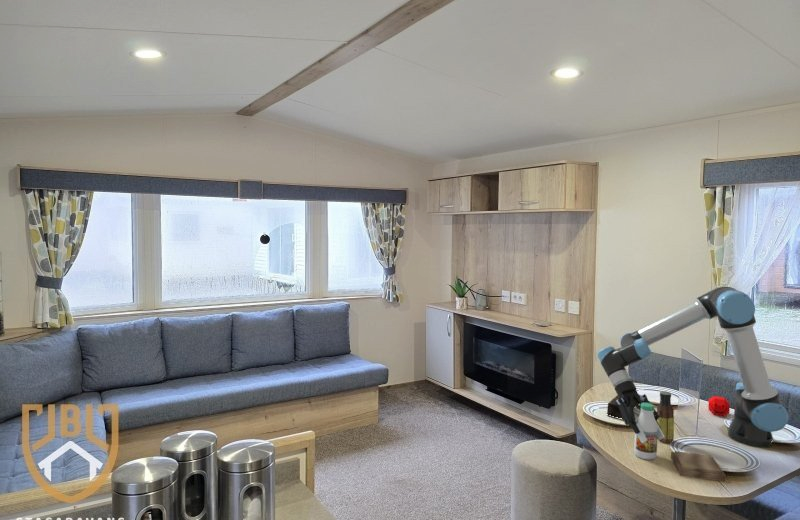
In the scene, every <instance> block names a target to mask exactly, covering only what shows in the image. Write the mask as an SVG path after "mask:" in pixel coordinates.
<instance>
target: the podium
mask: <svg viewBox="0 0 800 520" xmlns="http://www.w3.org/2000/svg"><path fill="white" fill-rule="evenodd" d="M670 459H671V461H672V462H673V464H674V466H675V469H676V470H677V473H678V474H679V476H681V477H689V478H696V479H705V480H713V481H714V480H715V481H721V482H726V477H727V475H726V473H725V472H724V471H723V469H722V468H721V467H720V465H719V464H718V462H717V461H716V460H715V458H714V457H713V456H712V455H711V454H704V453H695V452H694V453H693V452H687V451H686V452H685V451H677V450H676V451H675V450H674V452H672V451H671V452H670Z"/></svg>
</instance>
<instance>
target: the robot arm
mask: <svg viewBox="0 0 800 520" xmlns="http://www.w3.org/2000/svg"><path fill="white" fill-rule="evenodd" d="M755 313H756V305H755V303H754V300H753V299H752V298H751V297H750V296H749V295H748V294H747V293H745V292H743V291H739V290H738V289H736V288H734V287H731V286H720V287H716V288H714V289H712V290H710V291H708V292H706V293H704V294H702V295H700V296H698V297H696V298H695V300H694V301H693V302H691V303H690V304H687V305H686V306H683V307H682V308H679V309H678V310H676V311H674V312H672V313H670V314H667V315H665V316H664V317H662V318H660V319H657V320H656V321H653V322H651V323H650V324H648V325H645V326H643V327H642V328H640V329H638V330H636V331H634V332H627V333H624V334H623V335H622V336H621V338H620V347H619V348H615V347H614V346H611V345H610V346H606V347H603V348H602V349H600V350H599V351H598V352H597V358H598V360H599V363H600V365H601V367H602V368H603V370H604V372H605V374H606V375H607V377H608V379H609V381H610V383H611V386H612V387H613V388H614V391H615V393H616V396H617V395H618V396H619V397H620V398H619V399H617V400H616V401H615V402H616V404H617V405H618V407H619V409H620V412H621V414H622V417H623V420H622V421H623V422H624V424H625V426H628V427H630V428H632V430H633V432H634V434H635V433H636V434H637V435H638V437H639V439H640V441H641V443H644V442H646V441H647V438H646V436H645V434H644V432H643V431H642V429H641V427H640V425H639V423H637V424H636V421H637V418H636V414H635V409H637V410H639V411H640V412H641V403H650V404H652V403H651V402H650V401H649V399H648V396H647V394H645V393H644V394H643V395H641V394H640V393H638V392H637V386H636V385H635V383H634V382H633V380H632V377H631V376H630V374H629V372H628V370H627V369H626V367H628V366H630V365H632V364H635V363H637V362H639V361H641V360H645V359H646V358H648V357H650V356H651V355H652V354H653V352H652V350H651V348H650V347H649V346H651V345H653V344H655V343H657V342H660V341H661V340H664V339H666V338H668V337H670V336H671V335H673V334H675V333H677V332H680V331H682V330H684V329H687V328H689V327H690V326H692V325H695V324H697V323H699V322H702V321H703V320H705V319H707V320H711V319H714V318H716V317H717V319H718V323H719V327H720V328H721V330H724V331H725V332H726V334H727V337H728V340H729V343H730V347H731V351H732V353H733V356H734V360H735V362H736V367H737V369H738V372H739V376H740V379H741V381H739V382H737V383H736V385H735V389H734V390H735V397H734V414H733V415H734V416H733V418H732V421H730V425H729V426H728V429H727V435H728V437H729V438H730V439H732V440H734V441H736V442H738V443H741V444H744V445H748V446H752V447H760V448H763V447H764V448H765V447H770V446H772V445H773V444H772V443H771V441H772V440H773V441H774V437H773V433H774V432H778V431H781V430H782V429H784V428H785V427H786V425H788V423H789V420H790V418H789V417H790V416H789V413H788V411H787V409H786V408H785V407H784V406H783V404H782V401H781V399H780V395H779V392H778V390H777V389H776V388H774V387H772V385H771V383H770V382H771V381H770V378H769V376H768V371H767V369H766V365H765V363H764V359H763V356H762V353H761V352H762V351H761V349H760V346H759V343H758V340H757V335H756V333H755V330H754V326H755V324H756V323H757V320H756V318H755V317H756V316H755ZM624 403H625V404H624ZM633 407H635V408H633ZM653 414H654V418H655V420H656V423H657V427H658V435H657V437H658V439H659V440H661V439H662V438H664V437H665V436H664V434H663V433H662V431H661V427H660V425H659V423H658V422H657V419H658V418H660V416H659V415H658V413H657V409H655V408H654V412H653ZM658 439H657V440H658ZM659 440H658V441H659Z"/></svg>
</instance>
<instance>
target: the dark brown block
mask: <svg viewBox="0 0 800 520" xmlns="http://www.w3.org/2000/svg"><path fill="white" fill-rule="evenodd" d="M619 398H620V397H619V396H618V395H617V394H616V396H615V397H613V398H612V399H611V400H609V402H608V403H607V409H606V410H607V411H606V415H607V414H608V415H611V416H614V417H618V418H622V419H623V417H622V414H621V412H620V409H619V407H618V405H617V404H616V402H615V401H616V400H617V399H619ZM624 404H625V403H624ZM633 408H634V407H633ZM634 409H635V408H634Z"/></svg>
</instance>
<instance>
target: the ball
mask: <svg viewBox="0 0 800 520" xmlns="http://www.w3.org/2000/svg"><path fill="white" fill-rule="evenodd" d="M730 406H731V405H730V402H729V401H728V400H727V399H726V398H725V397H723V396H716V395H714V396H712V397H710V398H709V399H708V405H707V407H708V411H709V412H710V413H711V414H712V415H713V416H719V417H726V416H727V415H728V414H730V411H731V409H730Z"/></svg>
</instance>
